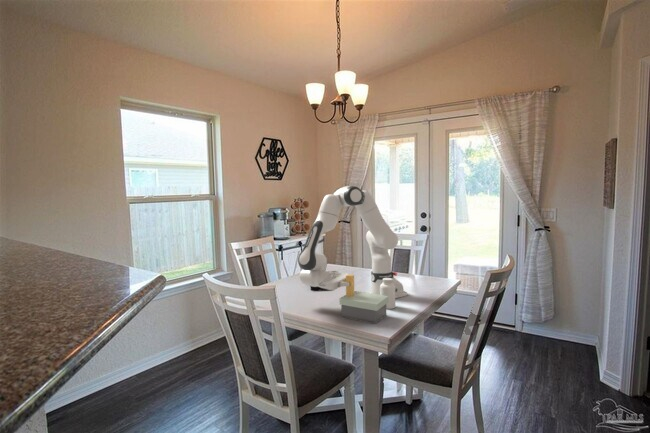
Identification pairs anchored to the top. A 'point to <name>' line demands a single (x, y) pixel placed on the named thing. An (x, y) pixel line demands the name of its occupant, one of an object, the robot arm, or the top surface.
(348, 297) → the lid
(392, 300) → the pill bottle
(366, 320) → the tub
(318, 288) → the black compartment tray
